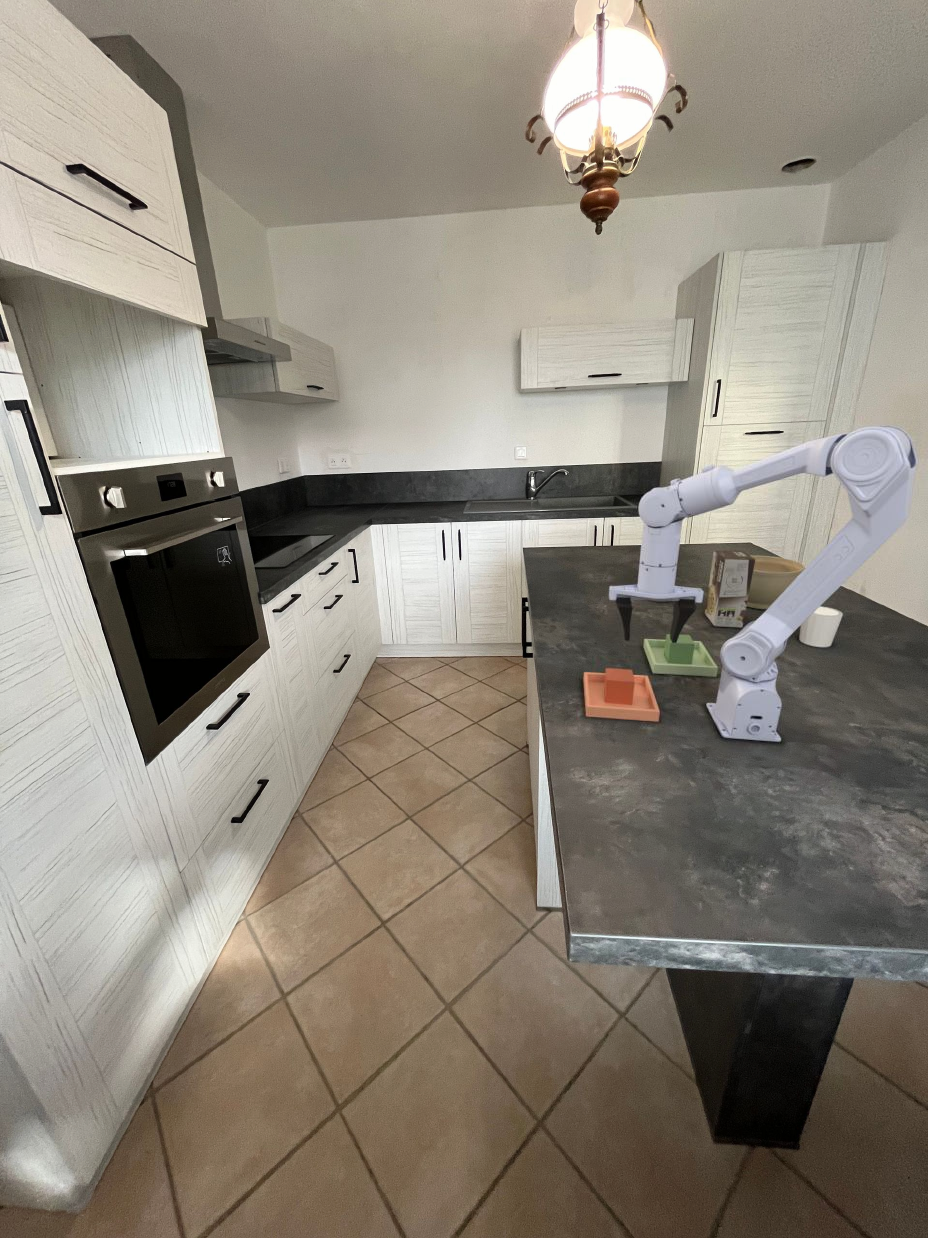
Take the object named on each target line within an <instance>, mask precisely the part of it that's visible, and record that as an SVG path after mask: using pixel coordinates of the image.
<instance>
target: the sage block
mask: <svg viewBox="0 0 928 1238" xmlns="http://www.w3.org/2000/svg"><path fill="white" fill-rule="evenodd" d="M664 640H665V648H664V655H665V657H666V660H667V662H668V663H676V664H692V660H693V653H694V646H695V643H694V642H693V641H694V640H693V638H692V637H691V635H690V634H680V635H679V637H678V640H677V643H672V641H671V639H670V633H666V634H665V639H664Z"/></svg>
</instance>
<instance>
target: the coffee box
mask: <svg viewBox="0 0 928 1238" xmlns="http://www.w3.org/2000/svg"><path fill="white" fill-rule="evenodd" d="M751 556H752V555H750V554H748V553H747V552H745V551H743V550H735V549H733V550H732V549H731V550H713V555H712V561H711V567H710V568H711V569H710V574H709V583H708V590H707V596H706V603H705V610H704V615H705V616H706V617H707V618H708V620H709V621H710V622H711V624H712V625H713V626H714V627H722V628H723V627H724V628H725V627H726V628H742V629H743V628H744V621H745V617H746V611H747V608H748V607H747V601H748V596H749V591H750V585H751V581H752V575H753V570H754V565H755V560H756V559H754V558H753V557H751Z"/></svg>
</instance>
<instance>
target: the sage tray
mask: <svg viewBox="0 0 928 1238" xmlns="http://www.w3.org/2000/svg"><path fill="white" fill-rule="evenodd" d="M665 640H666V639H658V638H657V639H654V638H653V639H651V638H644V639H643V650H644V653H645V655H646V658H647V660H648V663H649V667H650V669H651V672H652V674H661V675H676V676H678V675H680V676H694V677H696V676H697V677H698V676H699V677H715V678H717V675H718V671H719V667H718V665H717V664H716V662H715V660H714V659H713V658H712V656H711V654H710V653H709V652H708V650H707V648H706V646H705V645H704V644H703V642H702V641H700V640H693V642H694V643H695V646H694V653H693V660H692V664H676V663H668V662H667V660H666V657H665V655H664V648H665Z"/></svg>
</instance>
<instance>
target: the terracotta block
mask: <svg viewBox="0 0 928 1238" xmlns="http://www.w3.org/2000/svg"><path fill="white" fill-rule="evenodd" d="M604 673H605V684H604V696H605V703H615V704H627V705H632V703H633V693H634V684H635V681H634V676H633V675H634V673H633V669H627V668H626V669H625V668H613V667H611V668H610V667H606V668H605V672H604Z"/></svg>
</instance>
